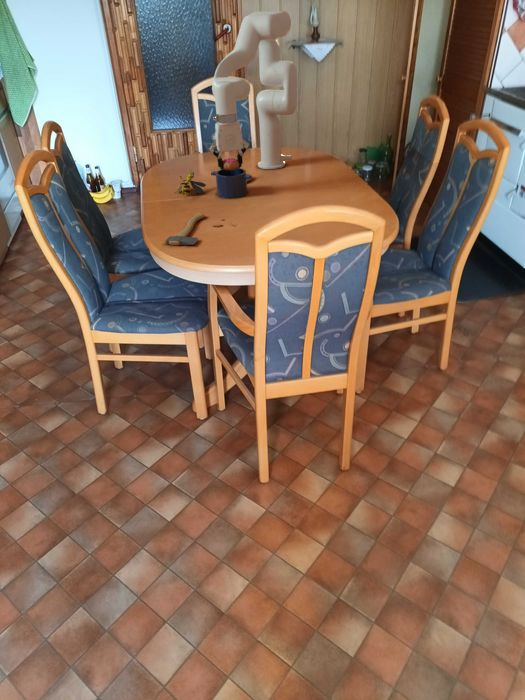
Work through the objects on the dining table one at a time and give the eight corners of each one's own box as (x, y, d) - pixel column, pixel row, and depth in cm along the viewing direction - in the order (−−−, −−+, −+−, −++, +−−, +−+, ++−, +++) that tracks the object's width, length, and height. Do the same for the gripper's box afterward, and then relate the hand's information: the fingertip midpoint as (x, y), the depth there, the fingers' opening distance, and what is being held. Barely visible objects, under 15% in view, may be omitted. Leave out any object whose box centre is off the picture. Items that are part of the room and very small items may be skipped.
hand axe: (193, 242, 170) (164, 240, 172) (194, 247, 170) (165, 245, 173) (217, 212, 191) (191, 211, 193) (218, 217, 192) (191, 216, 194)
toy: (162, 181, 205) (180, 167, 216) (166, 202, 210) (184, 187, 221) (189, 184, 201) (206, 169, 212) (192, 204, 207) (209, 189, 217)
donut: (237, 165, 211) (236, 156, 209) (242, 170, 205) (241, 160, 203) (219, 167, 209) (218, 158, 207) (224, 172, 204) (223, 162, 202)
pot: (221, 186, 220) (219, 166, 215) (258, 191, 214) (257, 170, 209) (206, 195, 212) (204, 174, 207) (244, 200, 205) (242, 178, 200)
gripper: (206, 123, 192) (211, 172, 202) (252, 117, 196) (254, 166, 206) (201, 119, 198) (206, 167, 208) (246, 114, 202) (248, 161, 212)
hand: (230, 166), depth 207 cm, fingers closed on donut, 6 cm apart
